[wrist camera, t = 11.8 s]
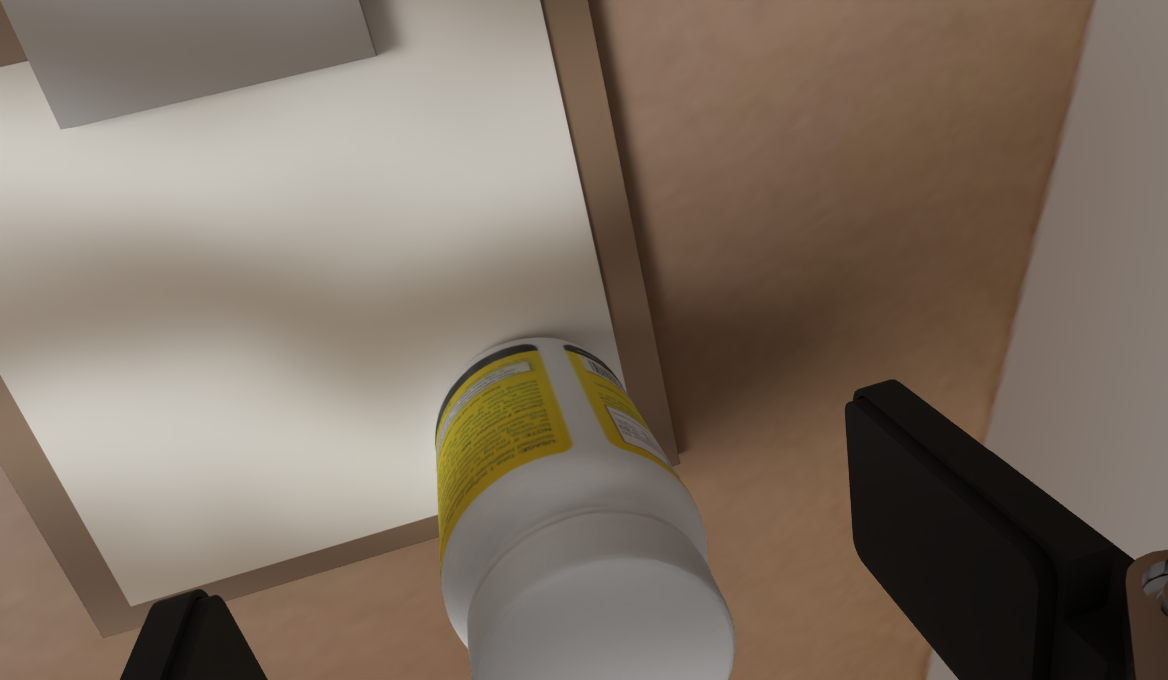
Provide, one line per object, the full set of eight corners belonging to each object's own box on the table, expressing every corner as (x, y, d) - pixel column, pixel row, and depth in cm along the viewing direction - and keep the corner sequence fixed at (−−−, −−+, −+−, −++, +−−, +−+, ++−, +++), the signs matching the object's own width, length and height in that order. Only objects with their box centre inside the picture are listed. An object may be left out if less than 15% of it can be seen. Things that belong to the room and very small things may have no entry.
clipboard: (-234, 41, 14) (-285, 38, 13) (557, -130, 15) (566, -144, 14) (109, 627, 19) (91, 659, 18) (675, 456, 21) (688, 477, 20)
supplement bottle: (425, 501, 19) (424, 802, 11) (446, 323, 18) (461, 526, 10) (609, 509, 20) (724, 788, 12) (643, 342, 19) (797, 539, 11)
